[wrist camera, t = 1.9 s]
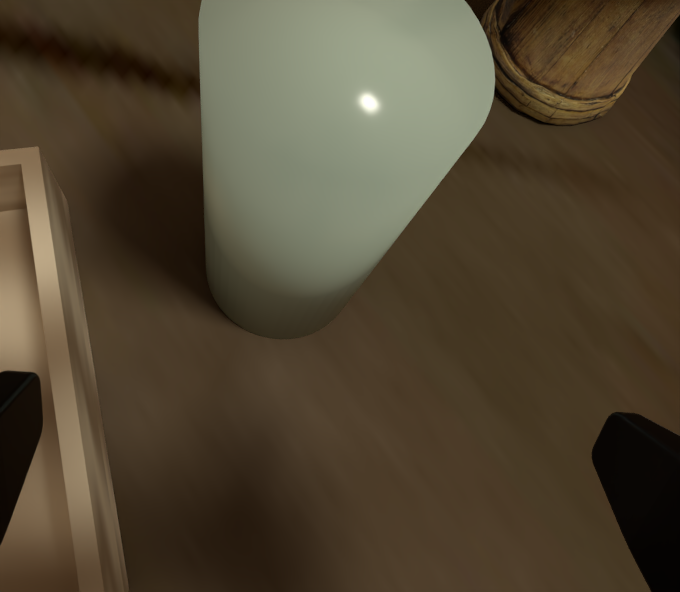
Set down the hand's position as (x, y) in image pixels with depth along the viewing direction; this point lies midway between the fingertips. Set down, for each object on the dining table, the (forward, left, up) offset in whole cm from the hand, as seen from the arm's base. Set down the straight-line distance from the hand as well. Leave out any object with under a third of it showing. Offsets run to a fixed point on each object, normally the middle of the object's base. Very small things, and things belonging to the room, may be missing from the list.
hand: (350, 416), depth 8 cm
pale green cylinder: (+7, -2, -13) cm, 16 cm away
